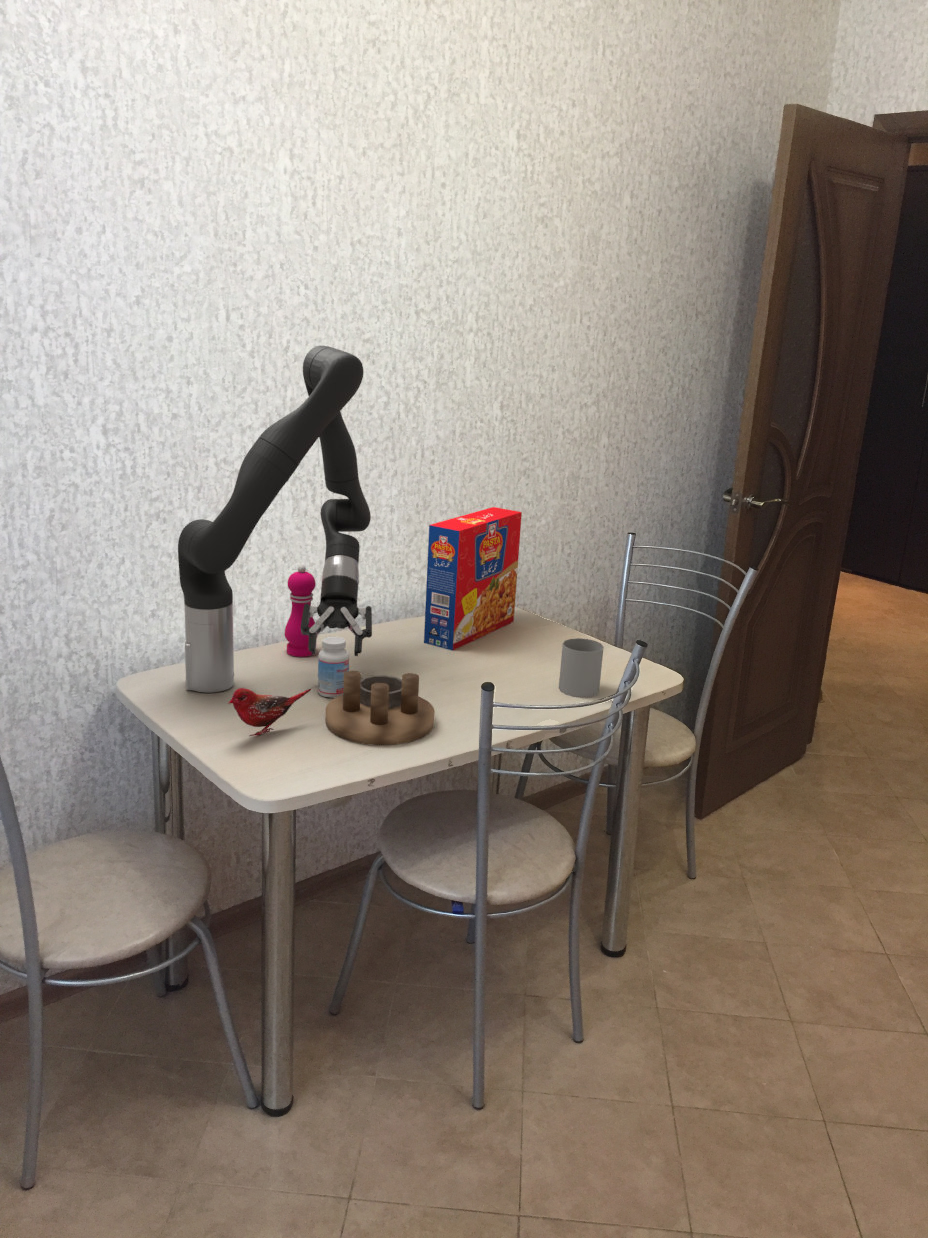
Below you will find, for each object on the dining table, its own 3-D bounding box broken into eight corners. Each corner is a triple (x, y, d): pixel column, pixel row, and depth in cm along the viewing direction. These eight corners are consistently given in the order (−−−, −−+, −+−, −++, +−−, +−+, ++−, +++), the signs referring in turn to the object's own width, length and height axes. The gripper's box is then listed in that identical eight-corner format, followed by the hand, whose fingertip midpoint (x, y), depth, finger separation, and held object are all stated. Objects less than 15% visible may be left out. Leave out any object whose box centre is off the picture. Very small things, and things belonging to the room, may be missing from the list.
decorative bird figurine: (224, 741, 180) (223, 689, 177) (306, 717, 192) (306, 667, 189) (233, 747, 178) (232, 694, 175) (315, 722, 190) (316, 672, 187)
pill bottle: (342, 700, 201) (344, 646, 197) (313, 696, 202) (314, 643, 198) (352, 689, 207) (353, 637, 203) (323, 685, 208) (324, 633, 204)
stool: (330, 747, 180) (330, 697, 177) (321, 702, 199) (322, 657, 196) (443, 743, 185) (445, 694, 182) (424, 699, 204) (426, 654, 201)
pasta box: (452, 650, 232) (459, 530, 223) (423, 643, 236) (429, 524, 227) (513, 621, 255) (521, 512, 246) (486, 615, 259) (493, 506, 250)
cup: (576, 679, 219) (580, 635, 216) (606, 691, 213) (611, 646, 210) (550, 688, 213) (554, 643, 210) (581, 700, 208) (585, 654, 204)
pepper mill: (324, 651, 227) (325, 564, 220) (302, 660, 221) (303, 571, 214) (299, 644, 230) (300, 558, 224) (277, 652, 224) (277, 564, 218)
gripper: (304, 572, 207) (297, 644, 200) (374, 575, 208) (370, 647, 200) (306, 589, 214) (300, 660, 206) (375, 592, 214) (370, 662, 207)
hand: (334, 653), depth 203 cm, fingers open, 8 cm apart
